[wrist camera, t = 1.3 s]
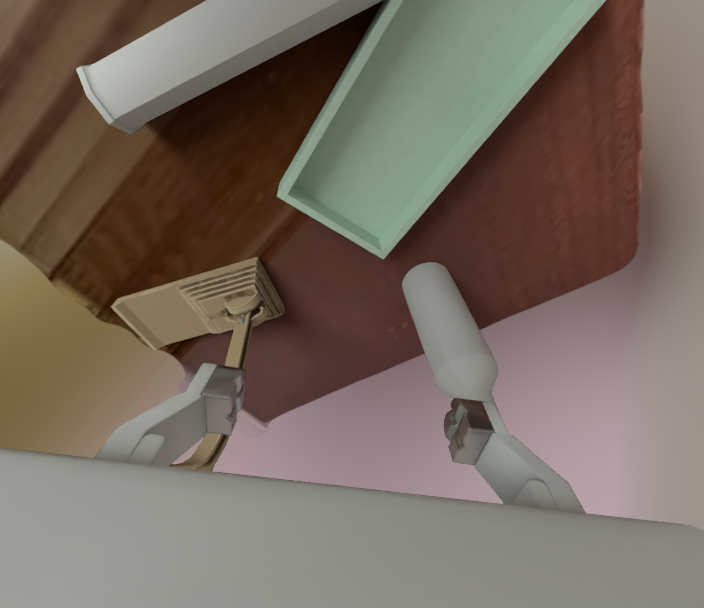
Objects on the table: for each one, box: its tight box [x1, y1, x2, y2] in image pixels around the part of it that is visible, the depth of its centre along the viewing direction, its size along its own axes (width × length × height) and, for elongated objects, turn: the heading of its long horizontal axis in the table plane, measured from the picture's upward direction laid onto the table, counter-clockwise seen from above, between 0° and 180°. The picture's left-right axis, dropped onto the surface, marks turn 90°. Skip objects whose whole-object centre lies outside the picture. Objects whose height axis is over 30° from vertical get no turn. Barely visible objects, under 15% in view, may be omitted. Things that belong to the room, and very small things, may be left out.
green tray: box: [277, 0, 606, 259], centre depth 31 cm, size 14×30×4 cm, turn 145°
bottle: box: [402, 262, 504, 504], centre depth 36 cm, size 7×7×28 cm
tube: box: [76, 0, 383, 135], centre depth 26 cm, size 5×5×25 cm
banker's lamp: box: [111, 257, 285, 471], centre depth 32 cm, size 16×21×35 cm
